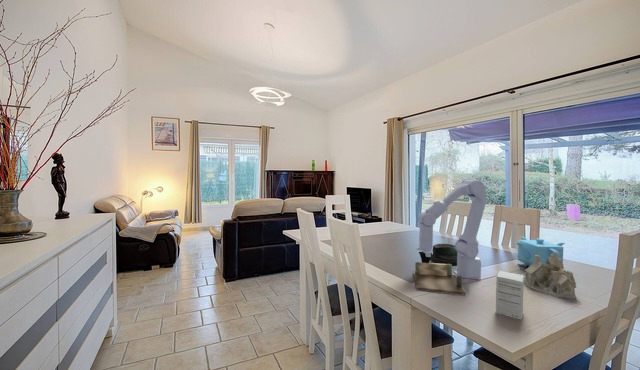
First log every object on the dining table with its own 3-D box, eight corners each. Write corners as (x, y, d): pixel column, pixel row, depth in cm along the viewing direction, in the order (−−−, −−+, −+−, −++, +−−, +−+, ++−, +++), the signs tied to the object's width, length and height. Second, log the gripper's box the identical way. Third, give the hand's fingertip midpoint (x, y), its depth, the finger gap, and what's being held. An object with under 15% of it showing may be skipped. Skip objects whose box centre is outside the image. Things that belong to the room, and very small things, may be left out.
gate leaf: (450, 275, 127) (451, 264, 127) (452, 276, 125) (452, 265, 125) (414, 272, 130) (415, 261, 130) (415, 274, 128) (415, 263, 128)
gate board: (455, 276, 129) (455, 265, 129) (465, 295, 109) (466, 282, 109) (413, 272, 133) (413, 262, 133) (416, 289, 114) (416, 277, 114)
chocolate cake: (450, 255, 163) (451, 239, 162) (475, 267, 143) (476, 249, 143) (419, 257, 159) (419, 241, 159) (440, 269, 140) (441, 250, 139)
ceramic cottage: (520, 278, 127) (523, 246, 125) (567, 287, 119) (571, 252, 118) (527, 294, 113) (531, 257, 111) (581, 304, 106) (586, 266, 104)
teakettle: (560, 277, 129) (561, 245, 128) (511, 267, 143) (512, 238, 142) (564, 268, 142) (566, 239, 142) (519, 259, 156) (521, 233, 155)
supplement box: (497, 305, 101) (499, 270, 101) (523, 311, 97) (524, 275, 96) (494, 312, 96) (495, 276, 95) (521, 320, 91) (523, 281, 90)
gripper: (414, 234, 137) (414, 262, 138) (419, 241, 123) (418, 272, 124) (430, 235, 136) (429, 263, 136) (436, 242, 122) (435, 274, 122)
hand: (425, 268), depth 130 cm, fingers closed
